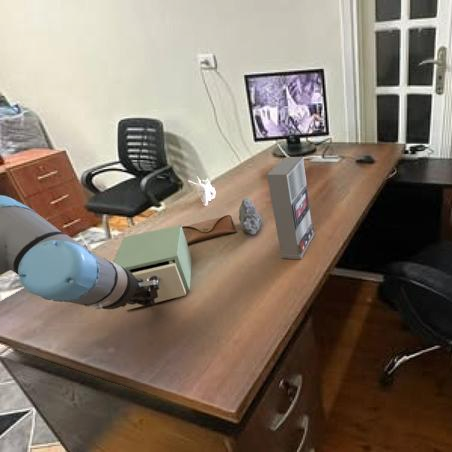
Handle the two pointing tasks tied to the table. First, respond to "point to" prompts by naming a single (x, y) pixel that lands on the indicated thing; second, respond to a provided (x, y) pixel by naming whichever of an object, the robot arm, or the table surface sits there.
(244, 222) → the mineral rock
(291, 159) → the cassette tape recorder
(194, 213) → the table surface
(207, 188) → the white figurine
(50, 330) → the table surface
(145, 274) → the drawer
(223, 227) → the sunglasses case
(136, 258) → the cabinet
